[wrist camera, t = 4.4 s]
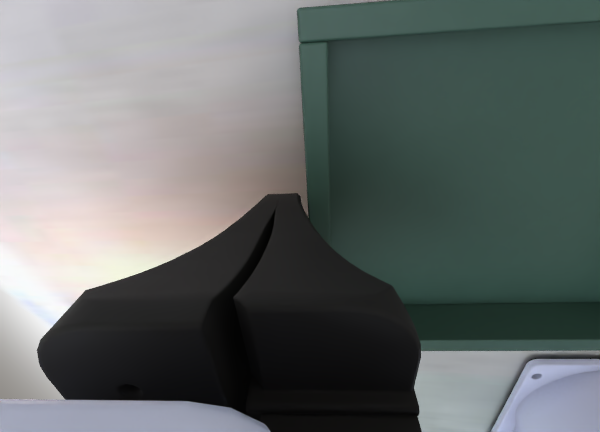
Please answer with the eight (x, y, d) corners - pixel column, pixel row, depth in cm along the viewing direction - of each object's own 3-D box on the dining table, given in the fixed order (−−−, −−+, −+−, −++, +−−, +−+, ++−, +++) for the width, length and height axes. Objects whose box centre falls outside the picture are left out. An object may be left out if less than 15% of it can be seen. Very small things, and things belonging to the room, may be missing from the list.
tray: (617, 304, 14) (671, 351, 12) (315, 307, 15) (316, 351, 13) (837, -27, 8) (1029, -51, 6) (300, 15, 9) (296, 8, 7)
